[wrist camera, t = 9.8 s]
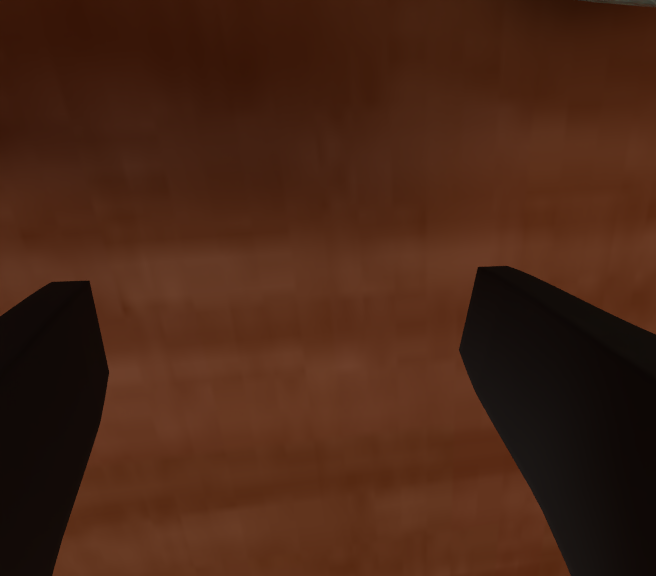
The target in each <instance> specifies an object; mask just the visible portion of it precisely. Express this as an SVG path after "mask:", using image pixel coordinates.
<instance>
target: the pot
mask: <svg viewBox="0 0 656 576" xmlns="http://www.w3.org/2000/svg"><path fill="white" fill-rule="evenodd" d="M580 1H588V2H598V3H610V4H622V5H634V6H646V7H656V4H655V3H653V2H652V1H651V0H580Z"/></svg>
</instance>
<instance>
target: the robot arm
mask: <svg viewBox="0 0 656 576" xmlns="http://www.w3.org/2000/svg"><path fill="white" fill-rule="evenodd" d="M459 351H460V354H461V357H462V359H463V362H464V365H465V368H466V370H467V373H468V375H469V378H470V380H471V383H472V385H473V387H474V390H475V392H476V394H477V396H478V398H479V400H480V401H481V403H482V405H483V407H484V409H485V410H486V412H487V414H488V416H489V417H490V419H491V421H492V423H493V424H494V426H495V428H496V430H497V431H498V433H499V435H500V437H501V438H502V440H503V442H504V443H505V445H506V447H507V449H508V450H509V452H510V454H511V455H512V457H513V459H514V461H515V462H516V464H517V466H518V468H519V469H520V471H521V473H522V474H523V476H524V478H525V480H526V481H527V483H528V485H529V487H530V488H531V490H532V492H533V494H534V496H535V498H536V500H537V502H538V503H539V505H540V507H541V509H542V511H543V513H544V515H545V518H546V520H547V522H548V524H549V527H550V529H551V531H552V533H553V536H554V538H555V540H556V542H557V544H558V547H559V549H560V551H561V553H562V556H563V558H564V560H565V562H566V565H567V567H568V569H569V572H570V574H571V576H656V335H655V334H653V333H651V332H649V331H646V330H644V329H642V328H640V327H637V326H635V325H633V324H631V323H629V322H626V321H624V320H622V319H620V318H618V317H616V316H614V315H612V314H610V313H607V312H605V311H603V310H601V309H599V308H597V307H595V306H593V305H591V304H589V303H587V302H585V301H583V300H581V299H579V298H577V297H575V296H573V295H571V294H569V293H567V292H565V291H563V290H561V289H559V288H557V287H555V286H553V285H550V284H548V283H546V282H544V281H542V280H540V279H538V278H536V277H534V276H531V275H529V274H527V273H525V272H522V271H520V270H517V269H514V268H511V267H509V266H492V267H478V269H477V274H476V278H475V282H474V287H473V291H472V296H471V300H470V304H469V309H468V313H467V318H466V322H465V326H464V331H463V335H462V339H461V344H460V348H459ZM108 376H109V370H108V365H107V360H106V356H105V351H104V346H103V342H102V337H101V332H100V328H99V323H98V318H97V314H96V309H95V304H94V300H93V295H92V291H91V286H90V281H66V282H51V283H49V284H48V285H46V286H44V287H42V288H41V289H39V290H38V291H36V292H35V293H33V294H32V295H30V296H29V297H27V298H26V299H24V300H23V301H22V302H20V303H19V304H17V305H16V306H14V307H13V308H12V309H10V310H9V311H7V312H6V313H5V314H3V315H2V316H0V576H52V574H53V570H54V566H55V563H56V559H57V556H58V552H59V549H60V545H61V541H62V538H63V535H64V532H65V529H66V526H67V523H68V520H69V517H70V514H71V511H72V508H73V505H74V502H75V499H76V496H77V493H78V490H79V487H80V484H81V481H82V478H83V475H84V471H85V468H86V465H87V462H88V459H89V456H90V453H91V450H92V447H93V444H94V441H95V437H96V434H97V431H98V428H99V425H100V421H101V416H102V411H103V405H104V400H105V394H106V388H107V382H108Z"/></svg>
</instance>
